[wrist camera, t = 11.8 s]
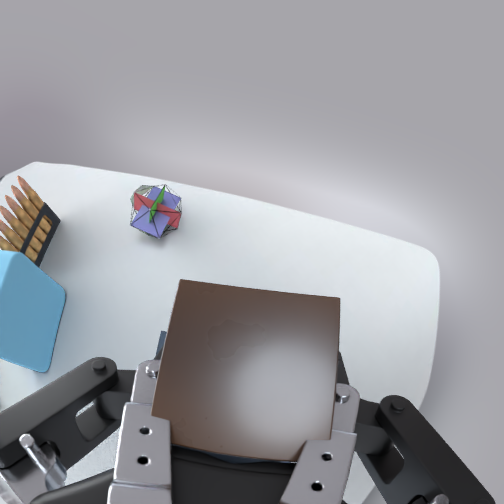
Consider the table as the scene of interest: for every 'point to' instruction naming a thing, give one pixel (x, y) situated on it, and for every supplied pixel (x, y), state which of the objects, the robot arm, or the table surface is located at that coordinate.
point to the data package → (28, 312)
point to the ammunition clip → (28, 224)
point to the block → (248, 370)
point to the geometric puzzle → (155, 210)
